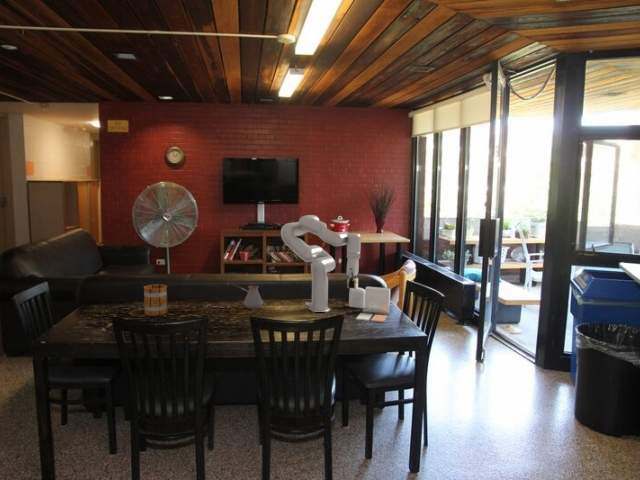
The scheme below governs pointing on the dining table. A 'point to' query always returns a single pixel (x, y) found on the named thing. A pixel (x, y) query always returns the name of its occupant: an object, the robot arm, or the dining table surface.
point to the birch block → (354, 283)
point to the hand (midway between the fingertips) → (352, 286)
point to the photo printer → (357, 298)
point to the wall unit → (377, 301)
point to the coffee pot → (251, 297)
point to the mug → (155, 299)
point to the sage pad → (364, 316)
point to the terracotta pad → (379, 318)
